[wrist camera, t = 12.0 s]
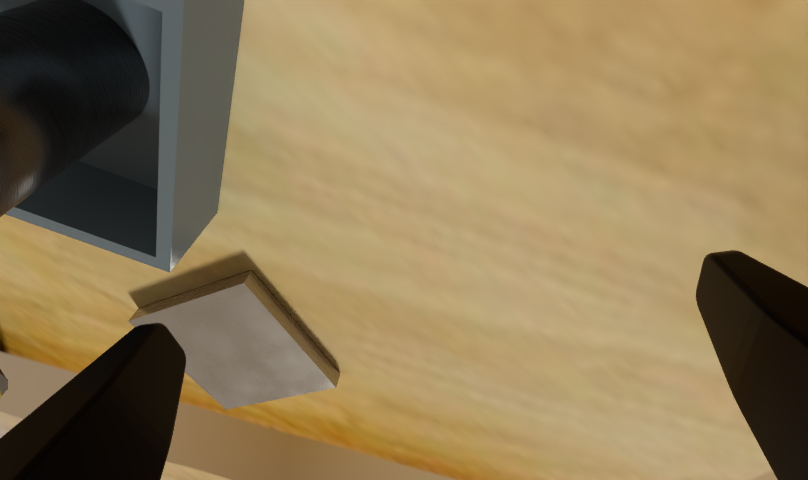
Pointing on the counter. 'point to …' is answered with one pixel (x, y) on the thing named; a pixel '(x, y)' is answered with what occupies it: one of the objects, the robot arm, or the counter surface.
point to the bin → (154, 138)
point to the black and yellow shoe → (3, 383)
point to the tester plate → (241, 342)
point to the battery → (61, 90)
